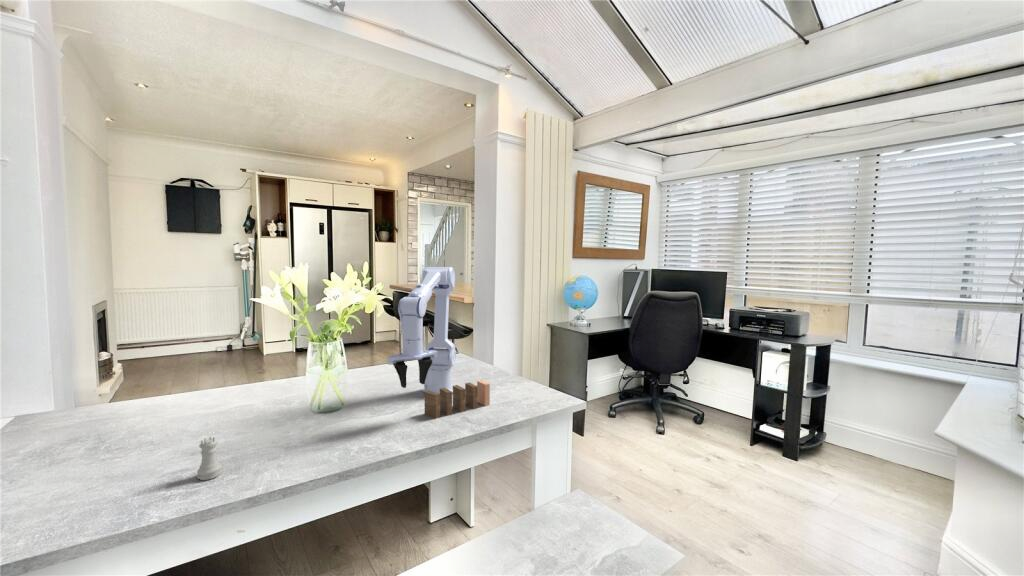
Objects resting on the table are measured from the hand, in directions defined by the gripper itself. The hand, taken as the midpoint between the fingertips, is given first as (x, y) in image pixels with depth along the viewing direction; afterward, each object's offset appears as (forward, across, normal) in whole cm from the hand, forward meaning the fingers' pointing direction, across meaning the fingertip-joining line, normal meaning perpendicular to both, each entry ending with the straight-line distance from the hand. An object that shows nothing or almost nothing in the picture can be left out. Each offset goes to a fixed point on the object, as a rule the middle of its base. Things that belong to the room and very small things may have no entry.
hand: (413, 385), depth 118 cm
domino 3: (+10, +15, 0) cm, 18 cm away
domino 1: (+10, +6, 0) cm, 12 cm away
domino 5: (+10, +24, 0) cm, 26 cm away
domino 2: (+10, +10, 0) cm, 15 cm away
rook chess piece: (+11, -48, -3) cm, 49 cm away
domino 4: (+10, +20, 0) cm, 22 cm away
